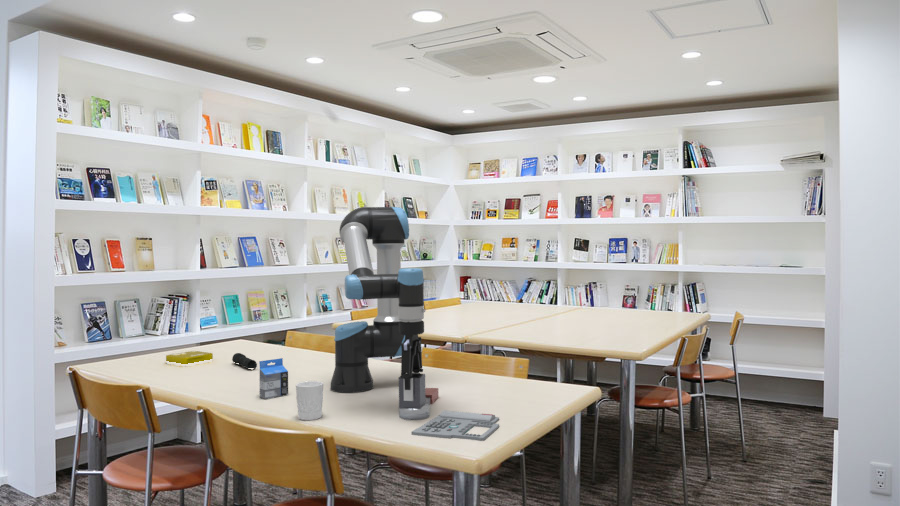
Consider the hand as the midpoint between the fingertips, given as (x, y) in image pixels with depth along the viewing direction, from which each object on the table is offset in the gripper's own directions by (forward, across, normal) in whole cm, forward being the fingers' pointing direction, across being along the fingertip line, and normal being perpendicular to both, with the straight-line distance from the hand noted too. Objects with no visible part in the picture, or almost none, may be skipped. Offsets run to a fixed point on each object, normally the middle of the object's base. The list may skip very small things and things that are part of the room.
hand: (412, 397), depth 189 cm
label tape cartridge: (+6, +16, +53) cm, 56 cm away
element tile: (+6, +70, +122) cm, 141 cm away
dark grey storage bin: (+3, 0, 0) cm, 3 cm away
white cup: (+6, -7, +30) cm, 31 cm away
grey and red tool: (+6, +10, 0) cm, 11 cm away
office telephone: (+6, -9, -16) cm, 20 cm away
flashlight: (+6, +65, +93) cm, 113 cm away
